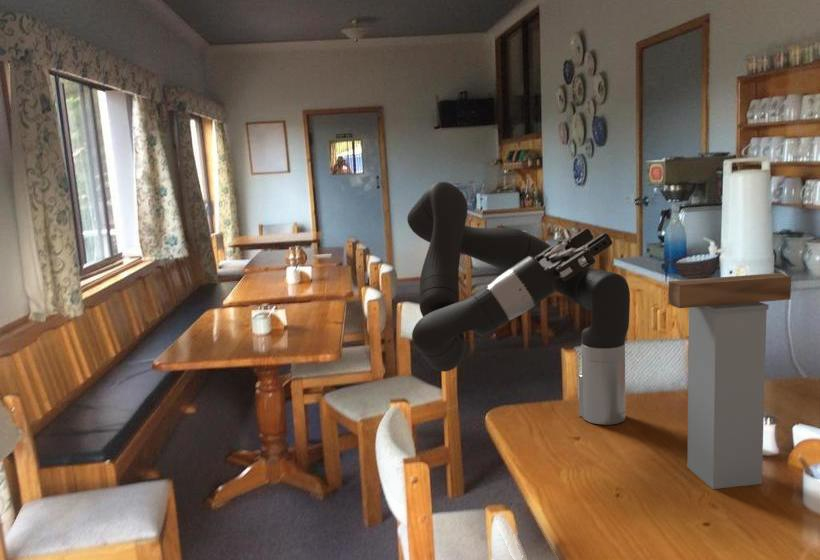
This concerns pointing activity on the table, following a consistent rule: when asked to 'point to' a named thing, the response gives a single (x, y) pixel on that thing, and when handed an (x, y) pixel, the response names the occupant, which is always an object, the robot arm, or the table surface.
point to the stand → (726, 393)
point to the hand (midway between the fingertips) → (599, 235)
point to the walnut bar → (729, 290)
